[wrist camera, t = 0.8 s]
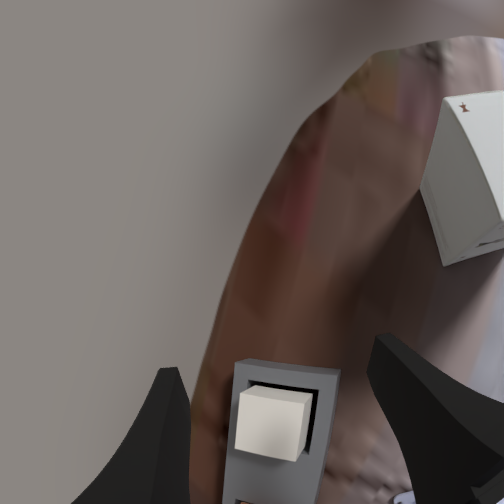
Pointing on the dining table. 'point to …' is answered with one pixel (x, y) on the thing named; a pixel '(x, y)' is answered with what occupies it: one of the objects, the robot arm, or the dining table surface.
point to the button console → (273, 469)
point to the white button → (273, 422)
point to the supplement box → (467, 176)
